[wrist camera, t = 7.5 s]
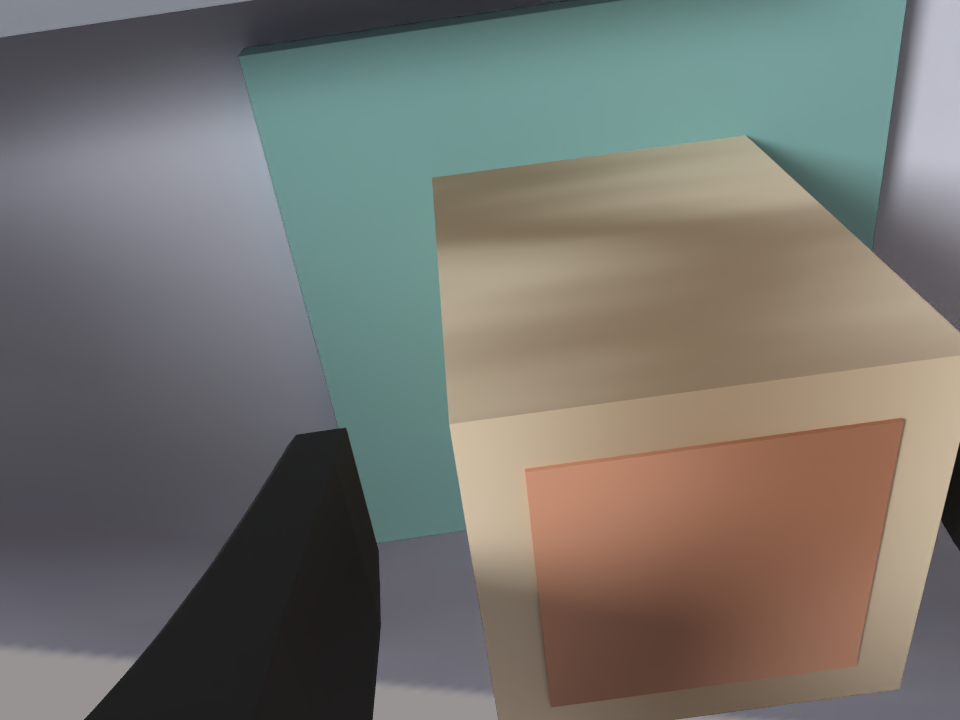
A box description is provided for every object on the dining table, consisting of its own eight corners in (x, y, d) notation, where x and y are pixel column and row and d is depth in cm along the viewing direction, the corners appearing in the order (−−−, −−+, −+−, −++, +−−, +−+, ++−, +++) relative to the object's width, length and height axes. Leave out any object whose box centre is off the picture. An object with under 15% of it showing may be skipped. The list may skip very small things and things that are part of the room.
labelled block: (469, 428, 15) (502, 746, 10) (431, 177, 12) (449, 428, 7) (731, 393, 15) (902, 692, 10) (745, 135, 12) (985, 355, 7)
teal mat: (370, 525, 16) (369, 543, 16) (244, 47, 12) (238, 56, 11) (829, 460, 16) (840, 476, 16) (894, -48, 12) (912, -43, 11)
